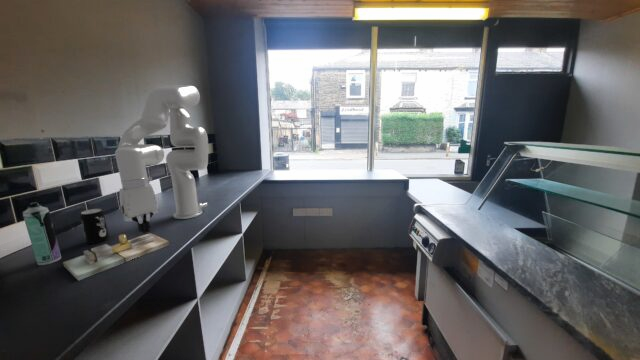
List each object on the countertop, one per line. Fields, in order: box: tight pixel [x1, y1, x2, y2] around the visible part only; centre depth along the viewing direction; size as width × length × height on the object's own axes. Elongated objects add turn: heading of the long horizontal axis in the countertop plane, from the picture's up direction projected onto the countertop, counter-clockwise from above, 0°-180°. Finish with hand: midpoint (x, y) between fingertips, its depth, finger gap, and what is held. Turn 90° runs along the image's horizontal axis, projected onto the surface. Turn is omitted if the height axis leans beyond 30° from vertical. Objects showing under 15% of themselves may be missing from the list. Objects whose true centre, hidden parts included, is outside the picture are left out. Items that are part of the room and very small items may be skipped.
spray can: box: [22, 201, 62, 266], centre depth 80 cm, size 6×6×20 cm
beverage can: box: [79, 208, 110, 245], centre depth 95 cm, size 7×7×12 cm
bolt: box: [91, 233, 131, 261], centre depth 83 cm, size 10×2×5 cm, turn 147°
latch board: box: [62, 232, 170, 282], centre depth 85 cm, size 25×14×5 cm, turn 147°
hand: (145, 231), depth 91 cm, fingers closed
